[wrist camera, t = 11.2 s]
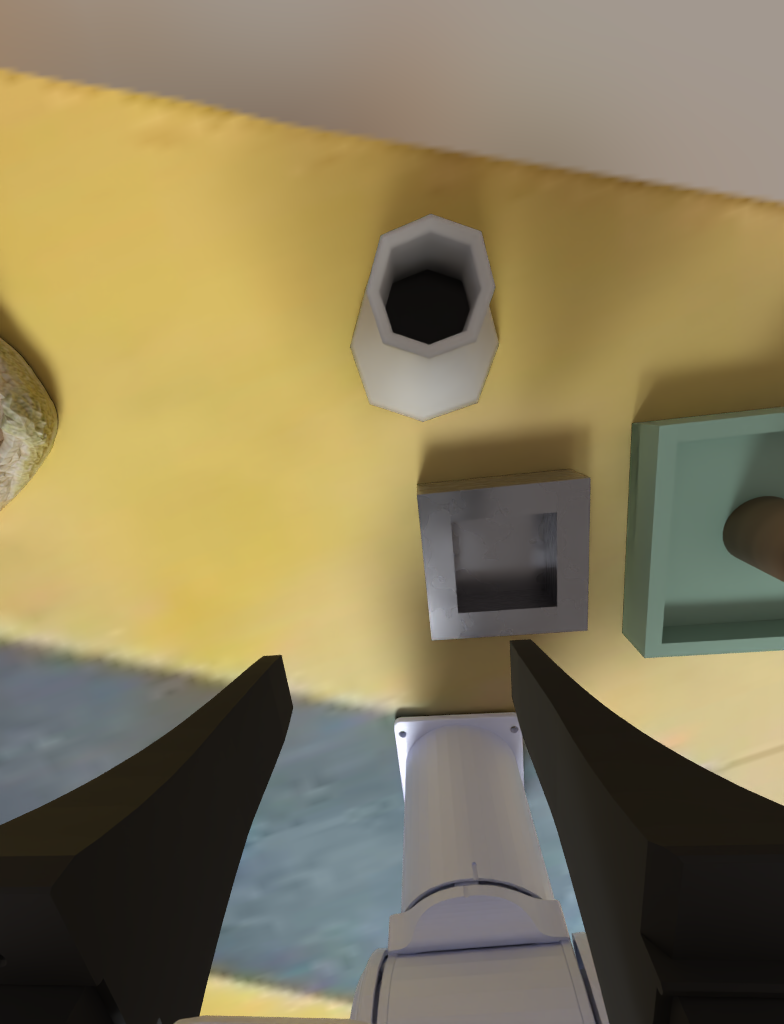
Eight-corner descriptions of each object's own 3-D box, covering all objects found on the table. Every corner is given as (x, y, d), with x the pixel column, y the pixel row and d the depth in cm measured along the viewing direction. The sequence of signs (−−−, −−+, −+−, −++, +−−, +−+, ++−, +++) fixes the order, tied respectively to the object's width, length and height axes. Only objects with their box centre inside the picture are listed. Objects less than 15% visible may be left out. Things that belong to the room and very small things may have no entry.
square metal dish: (569, 605, 22) (587, 630, 20) (430, 615, 23) (431, 640, 21) (570, 469, 20) (590, 477, 18) (416, 484, 21) (417, 494, 19)
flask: (502, 260, 18) (601, 95, 8) (493, 420, 20) (565, 436, 10) (347, 265, 18) (272, 115, 9) (353, 422, 20) (297, 438, 11)
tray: (848, 619, 22) (898, 643, 19) (622, 633, 23) (644, 658, 20) (898, 394, 18) (964, 392, 16) (632, 423, 19) (659, 425, 17)
